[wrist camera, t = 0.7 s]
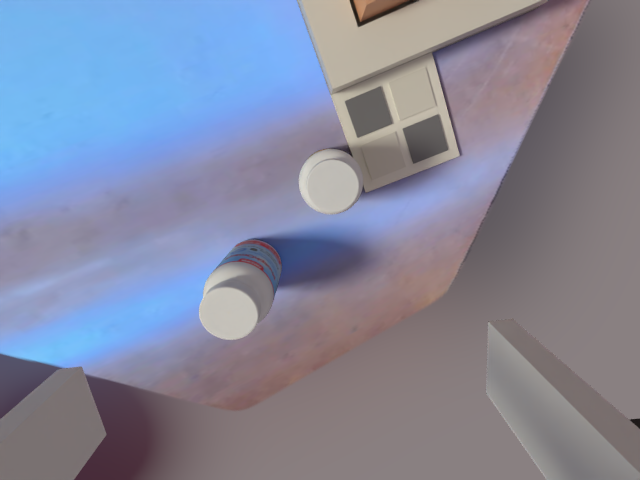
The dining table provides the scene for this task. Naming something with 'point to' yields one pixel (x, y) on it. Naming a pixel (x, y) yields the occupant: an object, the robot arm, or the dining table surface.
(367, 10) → the button
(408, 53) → the board
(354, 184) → the supplement bottle
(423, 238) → the dining table surface
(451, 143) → the card
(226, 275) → the pill bottle
